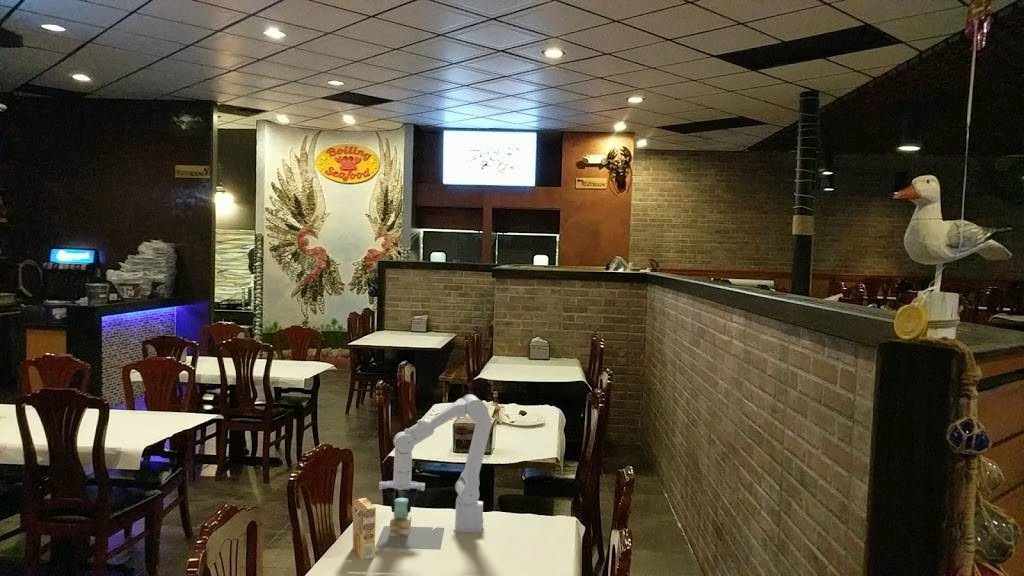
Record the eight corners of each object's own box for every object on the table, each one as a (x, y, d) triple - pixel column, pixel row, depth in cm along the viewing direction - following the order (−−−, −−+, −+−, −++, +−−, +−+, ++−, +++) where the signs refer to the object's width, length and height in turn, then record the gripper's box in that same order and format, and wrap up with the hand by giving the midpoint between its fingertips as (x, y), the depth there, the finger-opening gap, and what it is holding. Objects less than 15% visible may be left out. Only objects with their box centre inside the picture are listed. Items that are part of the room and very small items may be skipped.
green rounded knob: (408, 512, 208) (409, 497, 208) (407, 518, 204) (407, 503, 204) (394, 512, 208) (395, 497, 208) (392, 518, 204) (393, 503, 203)
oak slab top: (411, 521, 209) (411, 514, 209) (408, 529, 203) (408, 522, 203) (392, 521, 209) (393, 514, 209) (389, 528, 203) (390, 521, 203)
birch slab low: (410, 528, 209) (411, 521, 209) (408, 536, 203) (408, 529, 203) (392, 528, 209) (392, 521, 209) (389, 535, 203) (389, 528, 203)
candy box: (375, 557, 189) (377, 507, 188) (361, 561, 186) (363, 509, 186) (364, 546, 196) (366, 497, 195) (351, 549, 194) (352, 499, 193)
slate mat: (444, 528, 211) (444, 527, 211) (440, 550, 195) (440, 549, 195) (384, 526, 211) (384, 525, 211) (375, 548, 195) (375, 547, 195)
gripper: (377, 473, 201) (376, 515, 202) (423, 474, 202) (422, 516, 202) (381, 466, 208) (380, 506, 209) (426, 467, 209) (424, 508, 209)
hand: (401, 511), depth 206 cm, fingers closed on green rounded knob, 4 cm apart
